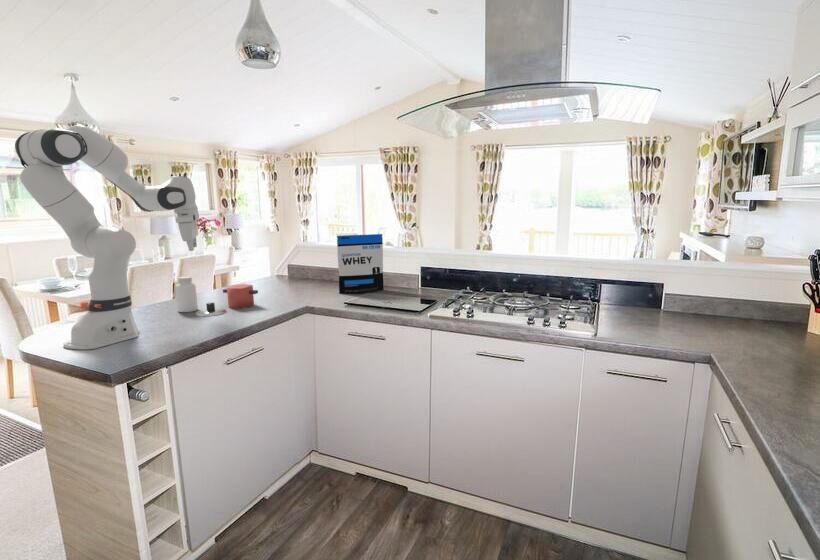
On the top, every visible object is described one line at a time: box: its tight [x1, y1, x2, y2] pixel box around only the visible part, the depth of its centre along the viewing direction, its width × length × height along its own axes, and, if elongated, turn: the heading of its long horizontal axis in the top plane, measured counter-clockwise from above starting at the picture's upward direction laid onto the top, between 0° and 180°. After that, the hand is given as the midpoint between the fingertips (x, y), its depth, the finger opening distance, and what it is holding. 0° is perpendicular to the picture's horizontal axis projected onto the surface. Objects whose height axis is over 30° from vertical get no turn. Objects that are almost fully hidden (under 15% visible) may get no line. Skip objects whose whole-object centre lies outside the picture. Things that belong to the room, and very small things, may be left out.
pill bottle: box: [175, 276, 199, 313], centre depth 190 cm, size 8×8×15 cm
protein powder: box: [336, 233, 385, 295], centre depth 225 cm, size 10×24×30 cm, turn 113°
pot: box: [222, 283, 259, 310], centre depth 198 cm, size 11×17×9 cm, turn 75°
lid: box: [195, 302, 227, 317], centre depth 187 cm, size 12×12×4 cm
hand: (193, 248), depth 182 cm, fingers open, 8 cm apart
